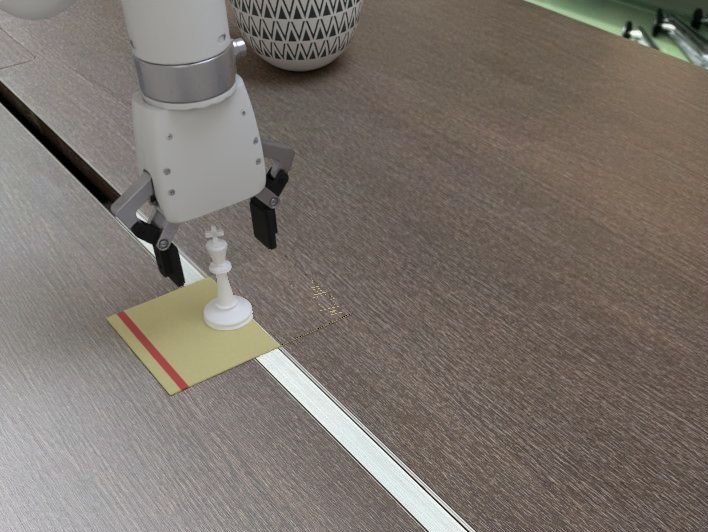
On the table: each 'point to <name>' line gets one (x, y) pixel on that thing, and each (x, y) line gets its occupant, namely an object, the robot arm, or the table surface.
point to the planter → (297, 30)
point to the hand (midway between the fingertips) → (221, 260)
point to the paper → (188, 337)
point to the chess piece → (224, 289)
